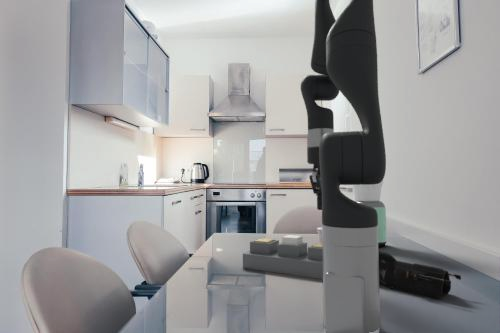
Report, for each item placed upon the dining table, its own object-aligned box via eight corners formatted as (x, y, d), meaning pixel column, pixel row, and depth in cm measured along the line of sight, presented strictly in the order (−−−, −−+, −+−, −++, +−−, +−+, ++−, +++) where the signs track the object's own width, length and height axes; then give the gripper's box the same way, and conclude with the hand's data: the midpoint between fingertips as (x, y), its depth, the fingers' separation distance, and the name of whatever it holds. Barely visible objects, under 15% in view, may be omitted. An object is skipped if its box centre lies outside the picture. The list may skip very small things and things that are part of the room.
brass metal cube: (328, 259, 89) (328, 247, 89) (312, 258, 91) (312, 246, 91) (333, 256, 93) (333, 244, 93) (318, 254, 95) (318, 243, 95)
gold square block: (267, 252, 98) (267, 241, 98) (254, 251, 100) (254, 240, 101) (274, 250, 102) (274, 239, 102) (261, 248, 104) (261, 238, 104)
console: (331, 280, 85) (331, 251, 85) (242, 267, 98) (242, 243, 98) (344, 269, 95) (343, 244, 95) (262, 259, 108) (262, 237, 109)
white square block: (296, 249, 94) (296, 238, 94) (282, 248, 96) (282, 237, 96) (302, 247, 98) (302, 236, 98) (288, 245, 100) (288, 234, 100)
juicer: (374, 251, 119) (372, 151, 121) (340, 246, 129) (339, 154, 130) (398, 244, 132) (395, 154, 133) (365, 239, 142) (363, 156, 143)
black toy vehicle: (449, 308, 68) (449, 267, 68) (341, 278, 87) (341, 246, 87) (461, 299, 73) (461, 261, 73) (356, 273, 91) (356, 242, 92)
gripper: (326, 143, 86) (328, 211, 85) (341, 148, 97) (342, 208, 96) (299, 145, 90) (300, 210, 89) (315, 149, 101) (316, 208, 100)
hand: (322, 209), depth 93 cm, fingers closed
